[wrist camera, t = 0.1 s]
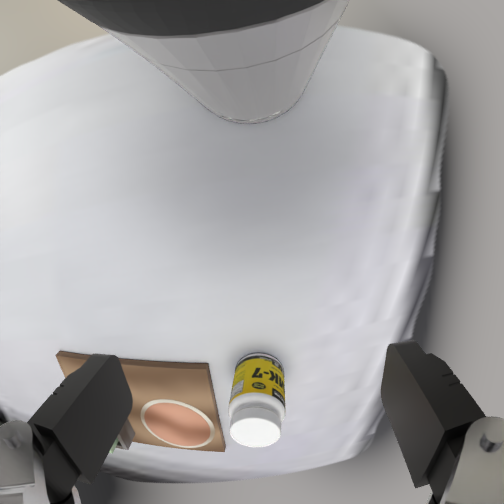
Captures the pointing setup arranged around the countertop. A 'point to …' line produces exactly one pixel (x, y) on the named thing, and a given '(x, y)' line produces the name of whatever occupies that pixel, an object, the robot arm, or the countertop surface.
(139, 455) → the countertop surface
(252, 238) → the countertop surface
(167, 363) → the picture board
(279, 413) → the supplement bottle
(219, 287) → the countertop surface
